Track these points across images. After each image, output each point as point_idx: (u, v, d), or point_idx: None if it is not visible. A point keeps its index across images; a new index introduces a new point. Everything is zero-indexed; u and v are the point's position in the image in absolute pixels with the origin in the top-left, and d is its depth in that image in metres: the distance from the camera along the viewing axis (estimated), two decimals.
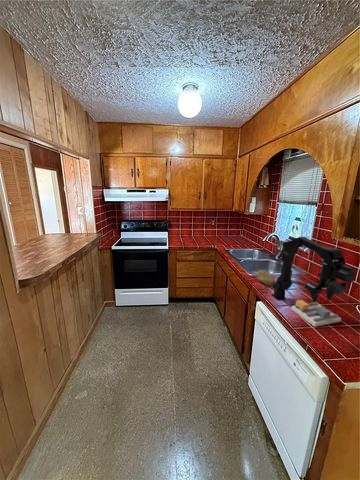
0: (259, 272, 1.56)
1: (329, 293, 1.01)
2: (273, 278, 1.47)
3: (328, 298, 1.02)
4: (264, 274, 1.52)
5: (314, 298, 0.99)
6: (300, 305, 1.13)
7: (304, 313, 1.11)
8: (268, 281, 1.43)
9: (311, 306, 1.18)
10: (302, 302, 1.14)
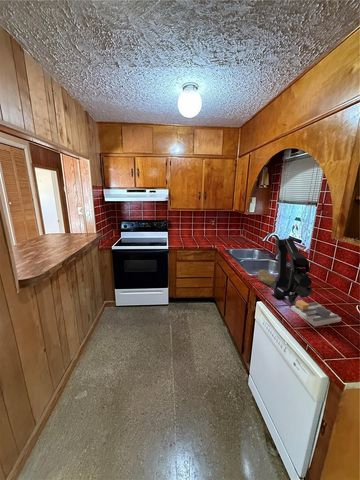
0: (260, 272, 1.56)
1: None
2: (274, 278, 1.47)
3: None
4: (265, 274, 1.52)
5: (290, 300, 1.11)
6: (300, 305, 1.13)
7: (304, 313, 1.11)
8: (269, 281, 1.43)
9: (311, 306, 1.18)
10: (302, 302, 1.14)
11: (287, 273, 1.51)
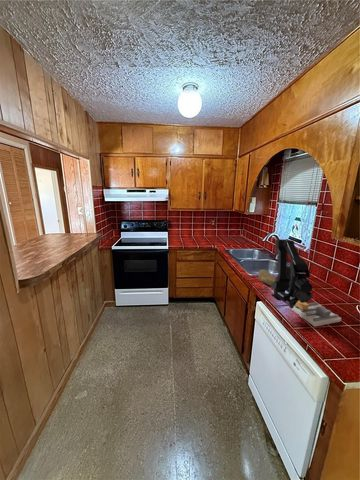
0: (260, 272, 1.56)
1: None
2: None
3: None
4: None
5: (291, 304, 1.11)
6: (300, 305, 1.13)
7: (304, 313, 1.11)
8: (270, 281, 1.43)
9: (311, 306, 1.18)
10: None
11: (287, 273, 1.51)
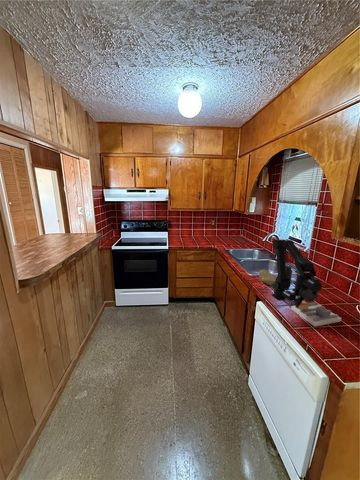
0: (261, 272, 1.56)
1: None
2: (275, 278, 1.47)
3: (297, 305, 1.13)
4: (266, 274, 1.52)
5: (296, 303, 1.12)
6: (300, 305, 1.13)
7: (304, 313, 1.11)
8: (270, 281, 1.43)
9: (311, 306, 1.18)
10: (302, 302, 1.14)
11: (287, 273, 1.51)
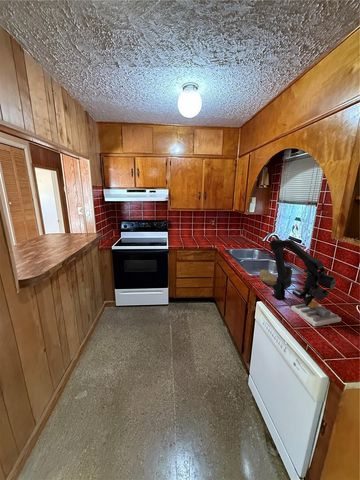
0: (261, 272, 1.56)
1: None
2: (276, 278, 1.47)
3: None
4: None
5: (306, 302, 1.14)
6: (310, 303, 1.15)
7: (304, 313, 1.11)
8: (271, 281, 1.43)
9: None
10: (312, 300, 1.16)
11: (287, 273, 1.51)
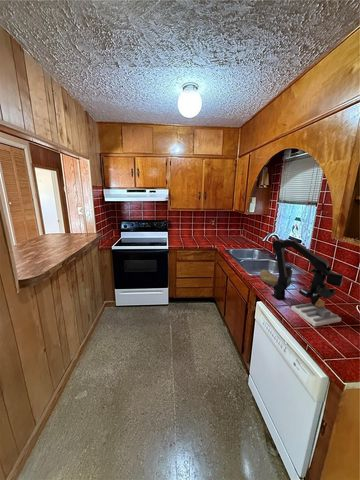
0: (262, 272, 1.56)
1: None
2: None
3: None
4: None
5: (313, 301, 1.15)
6: (316, 302, 1.16)
7: (304, 313, 1.11)
8: (272, 281, 1.43)
9: (311, 306, 1.18)
10: (318, 299, 1.17)
11: (287, 273, 1.51)
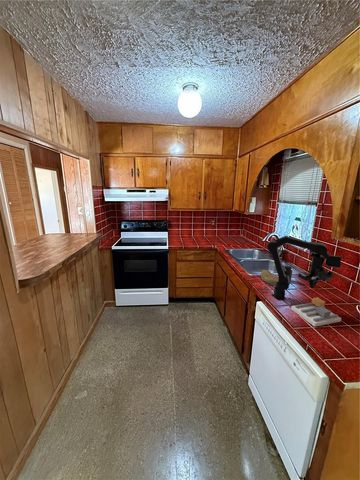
0: (263, 272, 1.56)
1: None
2: None
3: (312, 286, 1.19)
4: None
5: (312, 284, 1.18)
6: (317, 302, 1.16)
7: (304, 313, 1.11)
8: (274, 281, 1.43)
9: (311, 306, 1.18)
10: (318, 299, 1.17)
11: (287, 273, 1.51)
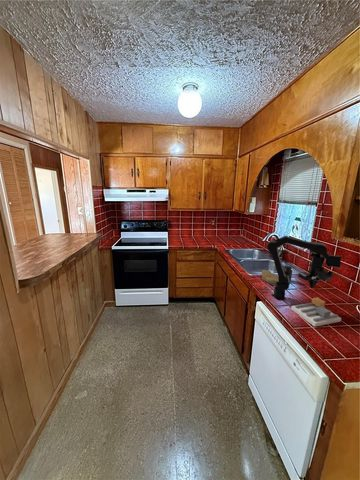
0: (264, 272, 1.56)
1: None
2: None
3: (312, 286, 1.19)
4: None
5: (312, 284, 1.18)
6: (317, 302, 1.16)
7: (304, 313, 1.11)
8: (276, 281, 1.43)
9: (311, 306, 1.18)
10: (318, 299, 1.17)
11: (287, 273, 1.51)
